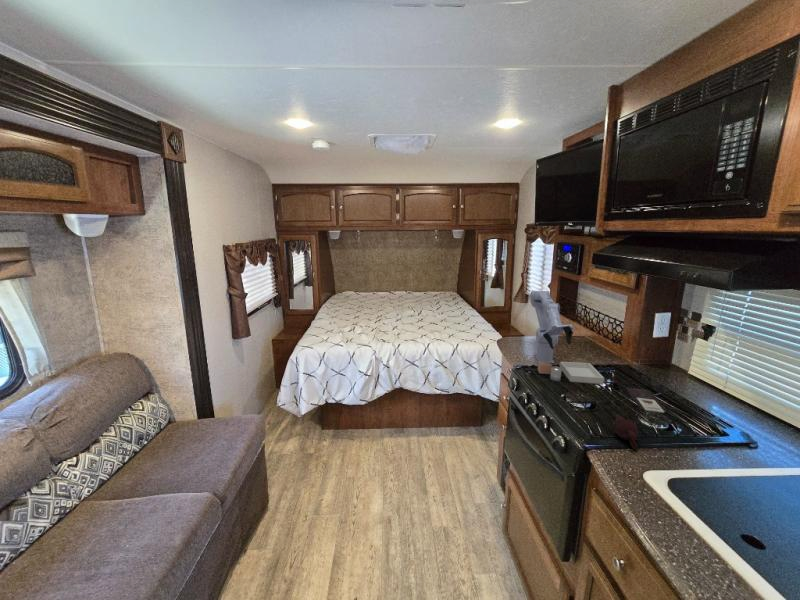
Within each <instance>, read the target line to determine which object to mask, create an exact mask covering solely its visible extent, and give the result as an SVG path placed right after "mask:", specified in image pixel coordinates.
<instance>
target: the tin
mask: <svg viewBox="0 0 800 600" xmlns="http://www.w3.org/2000/svg"><path fill="white" fill-rule="evenodd" d="M562 372H563V371H562V368H560V367H559V366H556V365H554V366H553V365H552V367H551V374H549V375H550V376H549V379H550V380H551V381H553V382H560V381H561V380H562V379H561V377H562Z"/></svg>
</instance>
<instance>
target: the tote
mask: <svg viewBox="0 0 800 600" xmlns="http://www.w3.org/2000/svg"><path fill="white" fill-rule="evenodd" d="M559 366H560V368H562V371H561V372H562V373H563V374H564V375H565V377H566V378H567V379H568V381H569V382H570V383H583V384H596V385H597V384H598V385H604V382H605V377H604V376H603V375H602V374H601V372H599V371H598V370H597V369H596V368H595V367H594V366H593V365H592V364H591V363H590V362H576V361H575V362H571V361H560V362H559Z"/></svg>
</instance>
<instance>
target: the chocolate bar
mask: <svg viewBox="0 0 800 600" xmlns="http://www.w3.org/2000/svg"><path fill="white" fill-rule="evenodd" d="M624 388H625V390H626V391H627V393H628V394H629V396H630V398H631V399H632V400H633V401H634V403H635V404H636V405H637V407H638V408H639V409H640V410H641V411H646V412H647V411H648V412H653V413H661V414H666V415H667V414H669V411H668V410H667V409H666V407H665V406H663V404H662V402H661V401H659V399H658V398H657V397H656V396H655V395H654V394H653V392H652V391H651V390H650V389H644V388H635V387H628V386H625V387H624Z"/></svg>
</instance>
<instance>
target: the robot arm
mask: <svg viewBox="0 0 800 600" xmlns="http://www.w3.org/2000/svg"><path fill="white" fill-rule="evenodd" d="M529 296H530V297H529V299H530V303H531V304H530V305H531V307H533V308H535V309H534V310H535V312H536V317H537V322H538V325H539V327H538V328H537V329H536V332H535V340H536V343H537V347H536V354H534V357H535V359H536V360H537V363H538V362H550V363H551V364H555V361H554V359H553V357H554V348H555V346H556V345H557V344H558V343H559V336H560V335H562V334H563V333H564V335H565V339H566V342H567V344H568V345H571V341H572V337H573V334H574V332H573V330H575V327H574V325H573V324H572V323H570V324H563V323H562V318H561V315H560V311H561V305H560V303H558V302H557V303H555V301H554V300H553V299H552V297H551V292H550V291H549V290H546V291H545V290H531V291H530V295H529Z"/></svg>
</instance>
